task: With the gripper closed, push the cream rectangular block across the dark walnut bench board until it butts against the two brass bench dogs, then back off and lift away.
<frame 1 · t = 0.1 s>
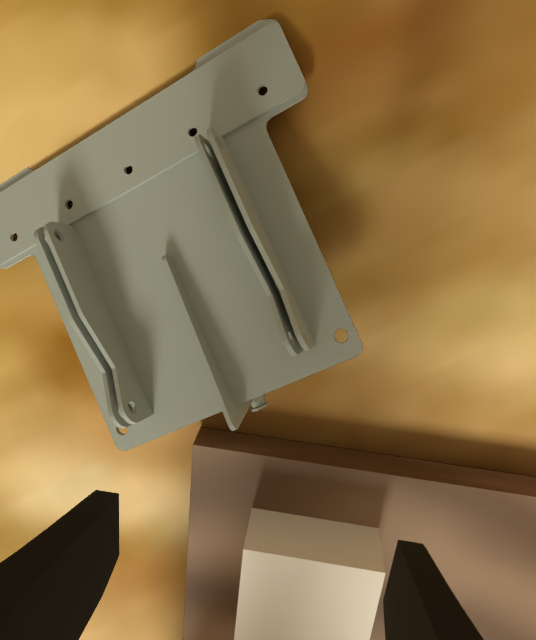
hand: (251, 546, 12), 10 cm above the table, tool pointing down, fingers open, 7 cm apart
cream rectangular block: (304, 581, 23), point 1 cm above the table, touching bench board
metal bracket: (191, 257, 21), on the table
bench board: (414, 597, 25), on the table
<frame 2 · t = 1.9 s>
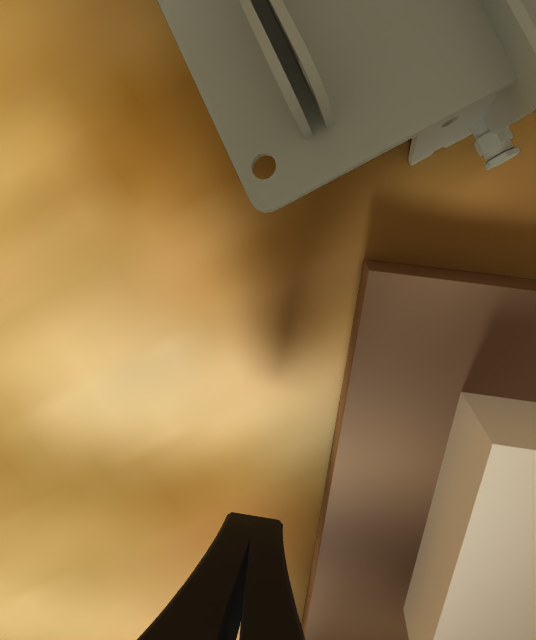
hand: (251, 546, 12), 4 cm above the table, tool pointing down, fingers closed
cream rectangular block: (532, 527, 14), point 1 cm above the table, touching bench board
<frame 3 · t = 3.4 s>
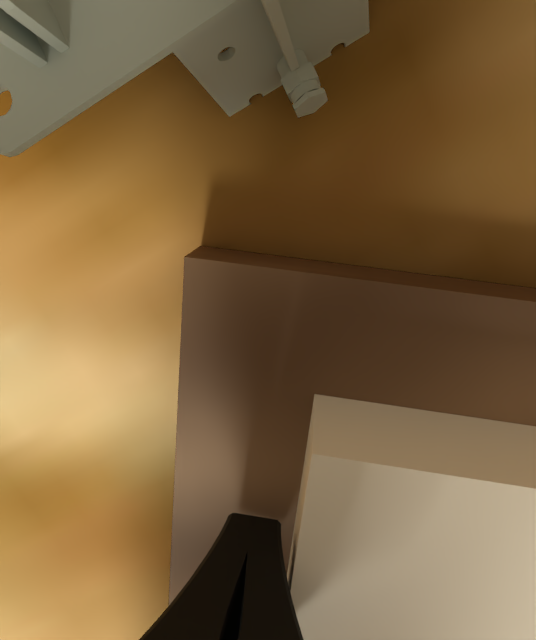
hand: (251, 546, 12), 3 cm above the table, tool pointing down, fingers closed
cream rectangular block: (404, 540, 13), point 2 cm above the table, touching gripper
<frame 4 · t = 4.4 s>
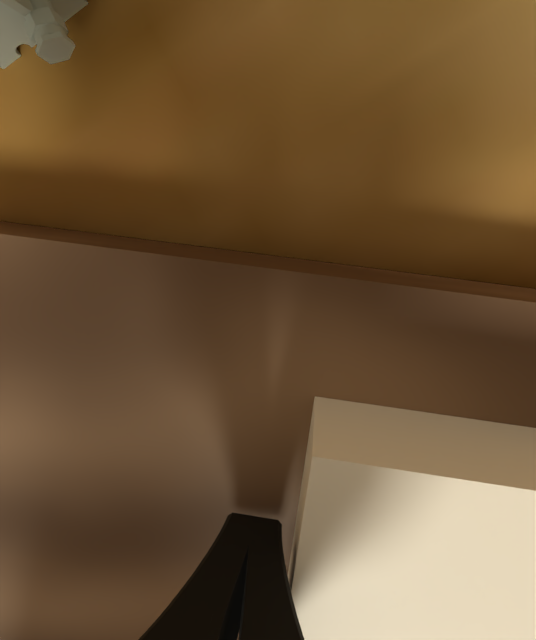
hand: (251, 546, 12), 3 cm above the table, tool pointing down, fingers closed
cream rectangular block: (405, 542, 13), point 2 cm above the table, touching gripper
bench board: (379, 540, 14), on the table
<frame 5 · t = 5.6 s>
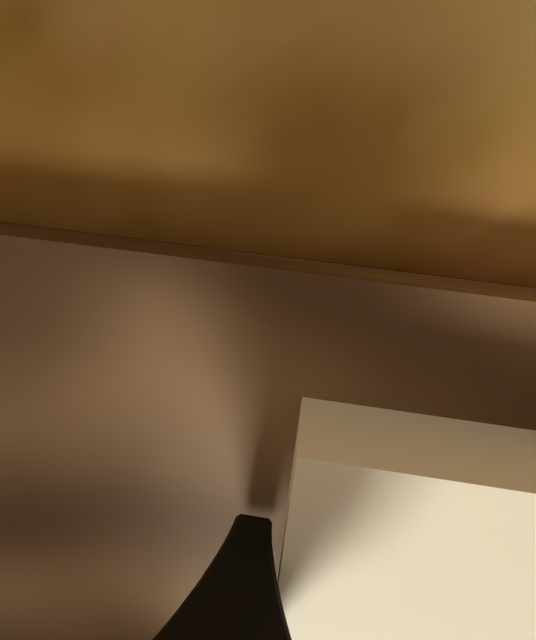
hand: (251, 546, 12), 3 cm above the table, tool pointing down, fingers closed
cream rectangular block: (393, 542, 13), point 2 cm above the table, touching bench board, gripper
bench board: (282, 524, 15), on the table
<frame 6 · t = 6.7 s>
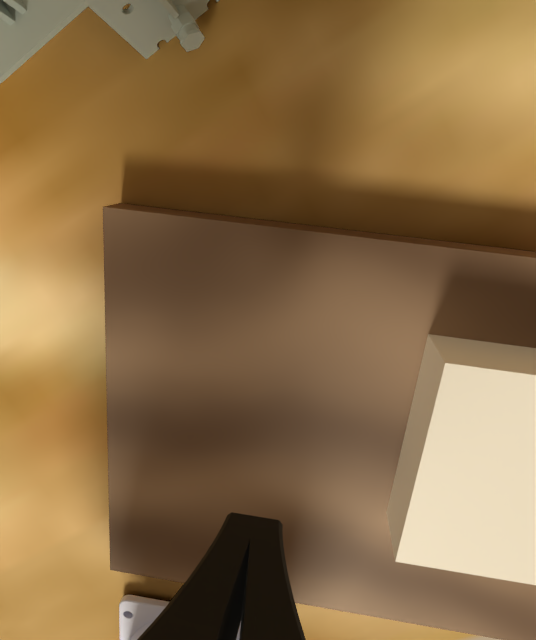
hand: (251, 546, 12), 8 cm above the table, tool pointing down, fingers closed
cream rectangular block: (485, 441, 18), point 1 cm above the table, touching bench board
bench board: (393, 438, 20), on the table
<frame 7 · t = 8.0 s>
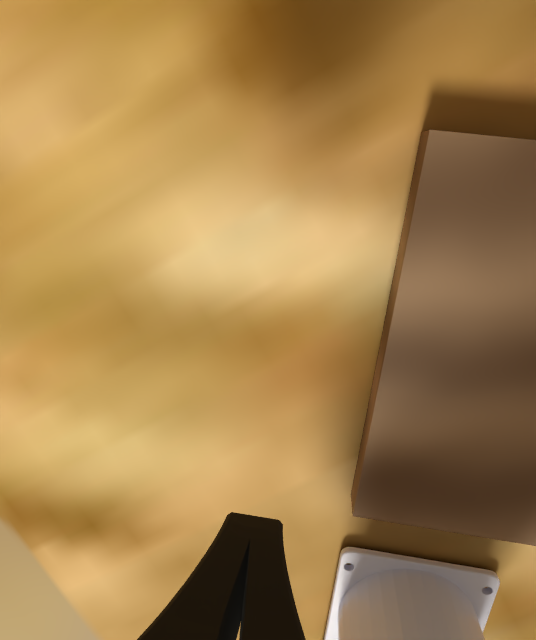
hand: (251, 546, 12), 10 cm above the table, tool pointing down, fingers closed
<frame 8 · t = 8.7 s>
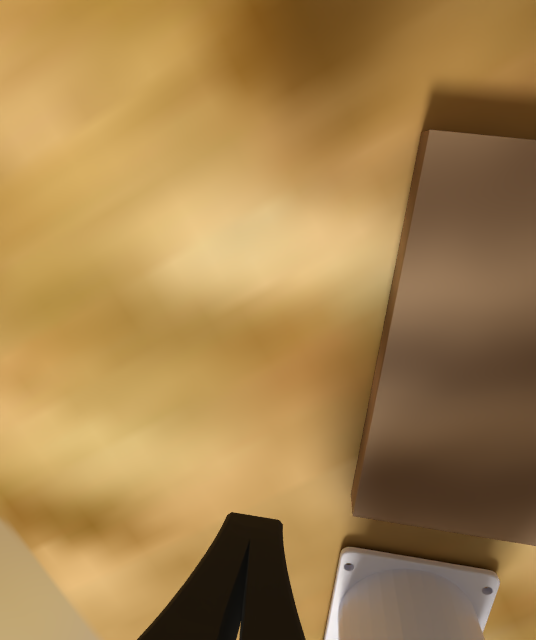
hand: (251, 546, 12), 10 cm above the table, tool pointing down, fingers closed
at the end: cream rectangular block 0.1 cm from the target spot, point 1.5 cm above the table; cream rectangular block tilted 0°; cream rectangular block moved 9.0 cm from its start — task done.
